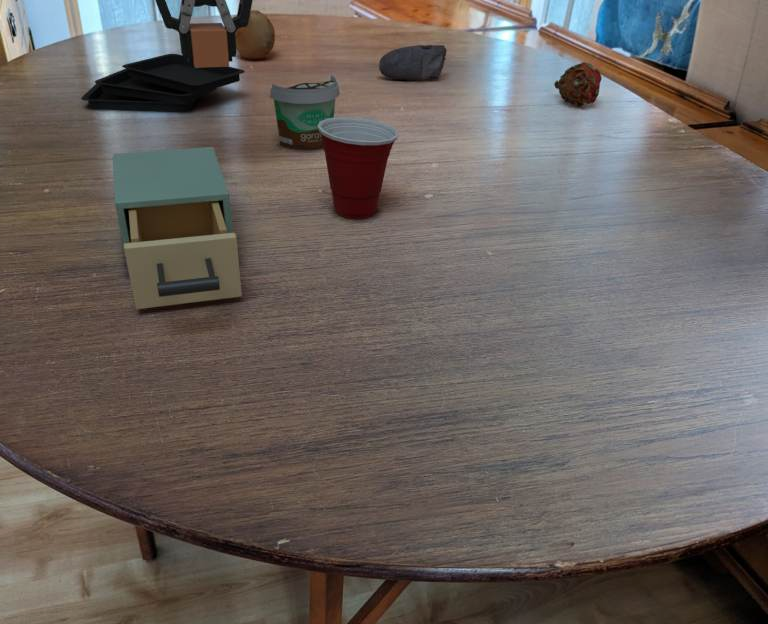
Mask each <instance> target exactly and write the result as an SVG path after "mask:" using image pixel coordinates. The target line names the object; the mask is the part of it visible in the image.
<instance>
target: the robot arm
mask: <svg viewBox="0 0 768 624" xmlns="http://www.w3.org/2000/svg"><path fill="white" fill-rule="evenodd" d="M154 1H155V4H156V6H157V9H158V11H159V14H160V16H161V18H162V21H163V24H164V26H165V28H166V29H169V30H174V31H176V32H178V35H179V42H180V43H179V45H180V52H181V55H183V57H184V59H187V60H188V63H194V61H193V52H192V42H191V34H190V32H189V25H190V24H191V20H192V17H193V13H194V9H195V8H199V7H203V6H207V7H212V8H213V7H216V9H217V11H218V14H219V16H220V19H221V21H222V25H223V26H224V28H225V29H226V31H227V44H228V56H229V63H230V62H233V58H236V56H237V53H238V51H237V49H236V37H235V33H236V30H237V29H239V28H241V27H246V26H247V25H248V22H249V17H250V12H251V10H252V7H253V1H254V0H239V2H238V7H237V13H236V16H234V17H232V15H231V11H230V9H229V7H228V3H227V0H181V1H180V6H179V14H178V18H176V17H174V16H172V14H171V12H170V9H169V6H168V4H167V1H166V0H154Z"/></svg>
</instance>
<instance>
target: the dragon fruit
mask: <svg viewBox="0 0 768 624" xmlns="http://www.w3.org/2000/svg"><path fill="white" fill-rule="evenodd" d="M602 79H603V78H602V74H601V71H599V69H594V66H593V65H592V64H590V63H587V62H585V61H583V62H581V63H578V64H575V65H572V66H570V67H569V68H567V69H565V70H564V73H563V74H562V75H560V76H559V79H558V80H555V82H554V83H553V86H554V87H555V89H557V90H558V93H559V94H560V99H562V100H563V102H564V103H569V104H571V105H572V106H574V107H577V108H581V107H582V106H583V105H585V104H587V105H588V104H594V103H595V102H596V100H597V98H598V96H599V94H600V88H601V81H602Z"/></svg>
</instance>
